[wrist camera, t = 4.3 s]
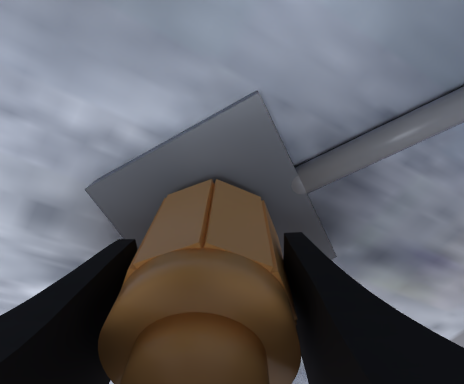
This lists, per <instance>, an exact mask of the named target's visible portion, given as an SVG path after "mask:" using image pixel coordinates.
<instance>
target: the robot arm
mask: <svg viewBox="0 0 464 384" xmlns="http://www.w3.org/2000/svg"><path fill="white" fill-rule="evenodd" d="M137 251H138V249H137V244H136V240H135V239H122V240H117V241H115V242H114V243H112V244H110V245H109V246H107V247H106V248H104V249H103V250H102V251H100V252H99V253H97V254H96V255H94V256H93V257H92V258H90V259H89V260H87V261H86V262H85V263H83V264H82V265H80V266H79V267H77V268H76V269H75V270H73V271H72V272H70V273H69V274H67V275H66V276H64V277H63V278H61V279H60V280H58V281H57V282H55V283H54V284H52V285H51V286H49V287H47V288H46V289H44V290H43V291H41V292H40V293H38V294H37V295H35V296H34V297H32V298H30V299H29V300H27V301H25V302H24V303H22V304H20V305H18V306H17V307H15V308H13V309H11V310H10V311H8V312H6V313H4V314H2V315H1V316H0V384H109V382H110V378H109V377H108V376H107V374H106V372H105V371H104V369H103V367H102V364H101V362H100V359H99V353H98V339H99V335H100V331H101V329H102V327H103V325H104V323H105V321H106V319H107V317H108V315H109V313H110V311H111V309H112V307H113V305H114V303H115V301H116V299H117V297H118V295H119V293H120V291H121V288H122V285H123V282H124V279H125V277H126V274H127V271H128V268H129V266H130V264H131V262H132V260H133V258H134V256H135V254H136V253H137ZM283 261H284V265H285V269H286V273H287V277H288V281H289V285H290V289H291V293H292V297H293V302H294V306H295V310H296V314H297V320H296V322H297V325H296V330H297V334H298V339H299V343H300V349H301V356H302V360H303V363H304V367H305V370H306V374H307V378H308V382H309V384H464V348H463V347H461V346H459V345H457V344H455V343H453V342H451V341H450V340H448V339H446V338H444V337H442V336H440V335H438V334H437V333H435V332H433V331H431V330H430V329H428V328H426V327H424V326H423V325H421V324H419V323H418V322H416V321H414V320H412V319H411V318H409V317H407V316H406V315H404V314H403V313H401V312H399V311H398V310H396V309H395V308H393V307H392V306H390V305H389V304H387V303H386V302H384V301H383V300H381V299H380V298H378V297H377V296H375V295H374V294H372V293H371V292H370V291H368V290H367V289H366V288H364V287H363V286H362V285H360V284H359V283H358V282H356V281H355V280H354V279H353V278H351V277H350V276H349V275H348V274H346V273H345V272H344V271H343V270H342V269H340V268H339V267H338V266H337V265H336V264H335V263H334V262H333V261H331V260H330V259H329V258H328V257H327V256H326V255H325V254H324V253H323V252H322V251H321V250H320V249H319V248H318V247H317V246H316V245H315V244H314V243H313V242H311V241H310V240H309V239H308V238H307V237H306V236H305V235H304V234H303V233H302V232H290V233H284V256H283Z"/></svg>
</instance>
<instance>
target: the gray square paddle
mask: <svg viewBox="0 0 464 384" xmlns="http://www.w3.org/2000/svg"><path fill="white" fill-rule="evenodd" d="M463 122H464V86H463V87H461V88H459V89H457V90H455V91H453V92H451V93H449V94H447V95H445V96H443V97H441V98H439V99H436V100H434V101H432V102H430V103H428V104H426V105H424V106H422V107H420V108H418V109H416V110H414V111H412V112H410V113H407V114H405V115H403V116H401V117H399V118H397V119H395V120H393V121H391V122H389V123H387V124H385V125H383V126H380V127H378V128H376V129H374V130H372V131H370V132H368V133H366V134H364V135H362V136H360V137H358V138H356V139H353V140H351V141H349V142H347V143H345V144H343V145H341V146H339V147H337V148H335V149H333V150H331V151H329V152H326V153H324V154H322V155H320V156H318V157H316V158H314V159H312V160H310V161H308V162H306V163H304V164H302V165H299V166H297V167H295V168H294V166H293V163H292V161H291V159H290V157H289V155H288V153H287V151H286V149H285V147H284V144H283V142H282V140H281V138H280V136H279V134H278V132H277V130H276V128H275V125H274V123H273V121H272V119H271V117H270V115H269V113H268V111H267V109H266V106H265V104H264V102H263V100H262V98H261V96H260V94H259V92H258V91H255V92H253V93H252V94H250V95H248V96H246V97H244V98H243V99H241V100H239V101H237V102H235V103H234V104H232V105H230V106H228V107H227V108H225V109H223V110H221V111H219V112H218V113H216V114H214V115H212V116H210V117H209V118H207V119H205V120H203V121H201V122H200V123H198V124H196V125H194V126H192V127H191V128H189V129H187V130H185V131H183V132H182V133H180V134H178V135H176V136H174V137H173V138H171V139H169V140H167V141H165V142H164V143H162V144H160V145H158V146H156V147H155V148H153V149H151V150H149V151H148V152H146V153H144V154H142V155H140V156H139V157H137V158H135V159H133V160H131V161H130V162H128V163H126V164H124V165H122V166H121V167H119V168H117V169H115V170H113V171H112V172H110V173H108V174H106V175H104V176H103V177H101V178H99V179H97V180H95V181H94V182H93V183H92V184H90V185H89V186H88V187H87V188H86V189H85V191H86V192H87V193H88V194H89V196H90V197H91V198H92V199H93V201H94V202H95V203H96V204H97V206H98V207H99V208H100V209H101V211H102V212H103V213H104V214H105V216H106V217H107V218H108V219H109V221H110V222H111V223H112V224H113V225H114V227H115V228H116V229H117V230H118V232H119V233H120V234H121V235H122V237H123V238H124V239H135V240H136V244H137V249H139V247H140V245H141V243H142V241H143V239H144V237H145V235H146V233H147V231H148V229H149V227H150V225H151V223H152V221H153V219H154V218H155V216H156V214H157V212H158V210H159V208H160V206H161V204H162V202H163V200H164V198H166V197H167V195H169V194H171V193H174V192H177V191H180V190H182V189H185V188H188V187H191V186H193V185H196V184H199V183H202V182H204V181H207V180H210V179H212V181H213V183H215V181H216V179H218V180H220V181H223V182H225V183H228V184H230V185H233V186H235V187H238V188H240V189H242V190H245V191H247V192H250V193H252V194H255V195H257V196H260V197H261V201H262V200H264V202H265V204H266V207H267V210H268V212H269V215H270V217H271V220H272V223H273V225H274V228H275V230H276V233H277V236H278V239H279V243H280V247H281V251H282V255H283V256H284V233H290V232H302V233H303V234H304V235H305V236H306V237H307V238H308V239H309V240H310V241H311V242H313V243H314V244H315V245H316V246H317V247H318V248H319V249H320V250H321V251H322V252H323V253H324V254H325V255H326V256H327V257H328V258H329V259H333V258H335V257H337V256H336V254H335V252H334V250H333V248H332V246H331V244H330V241H329V239H328V237H327V235H326V233H325V231H324V229H323V227H322V225H321V223H320V220H319V218H318V216H317V214H316V212H315V210H314V208H313V206H312V204H311V201H310V199H309V197H308V195H307V194H308V193H310V192H312V191H314V190H317V189H319V188H321V187H323V186H325V185H328V184H330V183H332V182H334V181H336V180H338V179H341V178H343V177H345V176H347V175H349V174H352V173H354V172H356V171H358V170H360V169H363V168H365V167H367V166H369V165H371V164H373V163H376V162H378V161H380V160H382V159H384V158H387V157H389V156H391V155H393V154H395V153H397V152H400V151H402V150H404V149H406V148H408V147H411V146H413V145H415V144H417V143H419V142H422V141H424V140H426V139H428V138H430V137H432V136H435V135H437V134H439V133H441V132H443V131H446V130H448V129H450V128H452V127H454V126H457V125H459V124H461V123H463Z"/></svg>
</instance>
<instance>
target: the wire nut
mask: <svg viewBox="0 0 464 384" xmlns="http://www.w3.org/2000/svg"><path fill="white" fill-rule="evenodd" d="M296 320H297V314H296V310H295V306H294V302H293V297H292V293H291V289H290V285H289V281H288V277H287V273H286V269H285V265H284V261H283V255H282V251H281V247H280V243H279V239H278V236H277V233H276V230H275V228H274V225H273V223H272V220H271V217H270V215H269V212H268V210H267V207H266V204H265V202H264V200H262V201H261V197H260V196H257V195H255V194H252V193H250V192H247V191H245V190H242V189H240V188H238V187H235V186H233V185H230V184H228V183H225V182H223V181H220V180H218V179H216V181H215V183H213V181H212V179H210V180H207V181H204V182H202V183H199V184H196V185H193V186H191V187H188V188H185V189H182V190H180V191H177V192H174V193H171V194H169V195H167V197H166V198H164V200H163V202H162V204H161V206H160V208H159V210H158V212H157V214H156V216H155V218H154V219H153V221H152V223H151V225H150V227H149V229H148V231H147V233H146V235H145V237H144V239H143V241H142V243H141V245H140V247H139V249H138V251H137V253H136V254H135V256H134V258H133V260H132V262H131V264H130V266H129V268H128V271H127V274H126V277H125V279H124V282H123V285H122V288H121V291H120V293H119V295H118V297H117V299H116V301H115V303H114V305H113V307H112V309H111V311H110V313H109V315H108V317H107V319H106V321H105V323H104V325H103V327H102V329H101V331H100V335H99V339H98V353H99V359H100V362H101V364H102V367H103V369H104V371H105V372H106V374H107V376H108V377H109V378H110V380H111V381H112V382H113V383H114V384H291V383H292V382H293V381H294V379H295V377H296V375H297V373H298V370H299V367H300V362H301V349H300V343H299V339H298V334H297V330H296V325H297V322H296Z"/></svg>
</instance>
